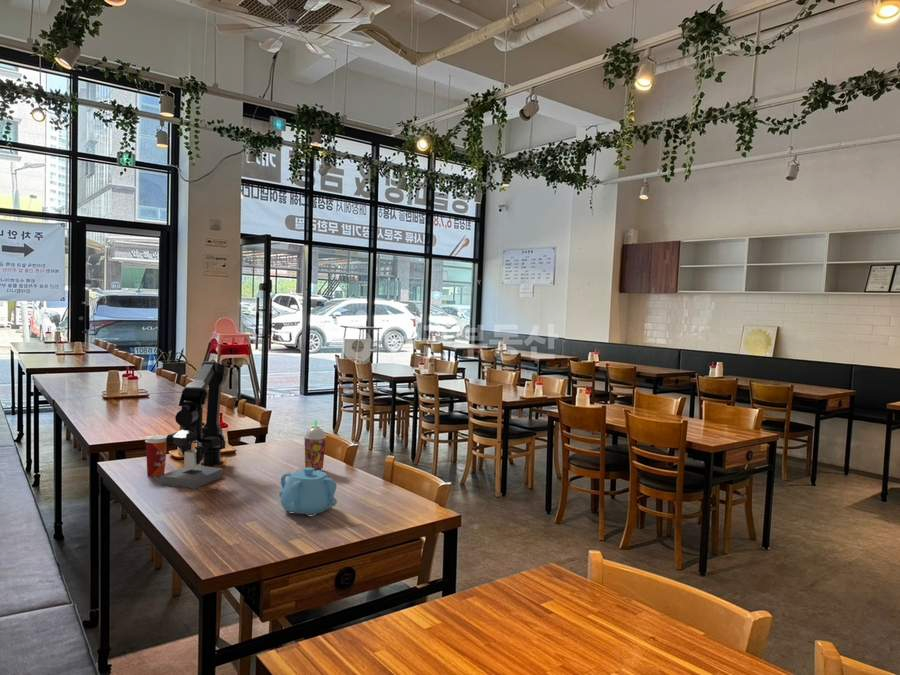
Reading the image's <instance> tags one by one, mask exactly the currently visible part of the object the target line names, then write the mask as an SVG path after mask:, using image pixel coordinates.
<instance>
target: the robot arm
mask: <svg viewBox="0 0 900 675" xmlns="http://www.w3.org/2000/svg"><path fill="white" fill-rule="evenodd" d="M228 374H229V368H228V366H226V365H225V363H223V364H221V363H220V362H217V361H210V360H209V361H208V360H205V361H203V362H202V364H201V368H200V370H199V371H198V373H197V375H196V377H195V379H194V380H193V381H191V382H188V383H187V384H186V386H185V387H184V388H183V389H182V391H181V396H180V399H179V403H178V406H179V407H181V410H179V411H178V412H177V413H176V414H175V417H174V418H175V422H176V424H177V425H179V426H180V427H181V430H178V431H177V432H174V433H171V434H168V435H167V437H166V443H167V444H171V445H172V444H174V446H175V447H177V448H179V449H180V451H181V453H182V456H183V457H184V452H185V451H188V450H191V449H192V445H193V444H198V445H197V446H194V450H196V451H197V456H196V463H197V465H198V464H200V462H201V465H202V466H203V465H204V466H210V467H216V466H219V465H221V464H223V463H224V462H225V461H224V460H221V456H222V455H221V453H222V452H221V451H223V450H224V449H226V439H225V437H224V433H223V428H222V426H221V425H220V422H219V421H220V412H221V411H220V409H221V392H222V386H223V385H224V384H225V382H226V381H227V376H228ZM207 388H208V390H207ZM206 402H207V408H206V421H205V422H203V417H204V416H203V414H204V409H203V408H204V405H206ZM202 460H203V461H202Z"/></svg>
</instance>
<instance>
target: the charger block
mask: <svg viewBox="0 0 900 675" xmlns="http://www.w3.org/2000/svg"><path fill="white" fill-rule="evenodd" d="M196 456H197V451H196V449H195V448H194V449H192V448H191V450H188V451H185V452H184V456H183V458H184V460H183V467H184V468H185V469H193V470H194V469H196V468H199V467H201V466H202V464H201V463H202V461H201V462H200V464H198V465H197V463H196Z"/></svg>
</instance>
